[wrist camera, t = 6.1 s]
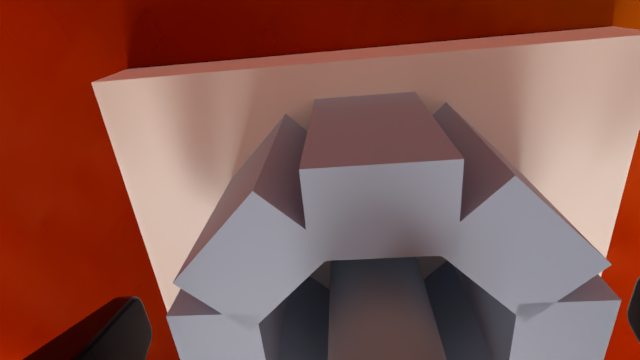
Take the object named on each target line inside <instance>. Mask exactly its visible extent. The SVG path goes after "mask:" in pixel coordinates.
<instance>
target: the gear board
mask: <svg viewBox="0 0 640 360" xmlns="http://www.w3.org/2000/svg"><path fill="white" fill-rule="evenodd" d="M91 84H92V87H93V90H94V93H95V96H96V99H97V102H98V105H99V108H100V111H101V114H102V117H103V120H104V123H105V126H106V129H107V132H108V135H109V138H110V141H111V144H112V147H113V150H114V153H115V156H116V159H117V162H118V165H119V168H120V171H121V174H122V177H123V180H124V183H125V186H126V189H127V192H128V195H129V198H130V201H131V204H132V207H133V210H134V213H135V216H136V219H137V222H138V225H139V228H140V231H141V234H142V237H143V240H144V243H145V246H146V249H147V252H148V255H149V258H150V261H151V264H152V268H153V271H154V274H155V277H156V280H157V283H158V286H159V289H160V292H161V295H162V298H163V301H164V304H165V307H166V310H167V313H168V312H169V310H170V308H171V306H172V304H173V302H174V300H175V298H176V296H177V295H178V293H179V291H180V289H181V288H179V287H178V286H176V285H174V284H173V281H174V280H175V278H176V276H177V274H178V273H179V271H180V269H181V267H182V265H183V264H184V262H185V260H186V258H187V257H188V255H189V253H190V251H191V250H192V248H193V246H194V244H195V242H196V241H197V239H198V237H199V235H200V234H201V232H202V230H203V228H204V227H205V225H206V223H207V221H208V220H209V218H210V216H211V214H212V212H213V211H214V209H215V207H216V205H217V204H218V202H219V200H220V198H221V197H222V195H223V193H224V191H225V189H226V188H227V186H228V184H229V182H230V181H231V179H232V178H233V177H234V176H235V174H236V173H237V172H238V171H239V169H240V168H241V167H242V166H243V165H244V163H245V162H246V161H247V160H248V159H249V157H250V156H251V155H252V154H253V153H254V151H255V150H256V149H257V148H258V147H259V145H260V144H261V143H262V142H263V141H264V139H265V138H266V137H267V136H268V134H269V133H270V132H271V131H272V130H273V128H274V127H275V126H276V125H277V124H278V122H279V121H280V120H281V119H282V118H283V116H284V115H285V114H286V115H288V116H289V117H290V118H291V119H292V120H294V121H295V122H296V123H297V124H299V125H300V126H301V127H302V128H304V129H305V130H306V131H308V126H309V122H310V117H311V113H312V108H313V104H314V99H323V98H337V97H350V96H363V95H376V94H389V93H402V92H415V93H416V94H417V95H418V97H419V98H420V100H421V101H422V102H423V104H424V105H425V106H426V108H427V109H428V110H429V112H430V113H431V114H432V116H433V115H434V114H435V113H436V112H437V111H438V110H439V109H440V108H441V107H442V106H443V105H444V104H445V103H446V102H447V103H448V104H449V105H450V106H451V107H452V108H453V109H454V110H455V111H456V112H457V113H458V114H460V115H461V116H462V117H463V118H464V119H465V120H466V121H467V122H468V123H469V124H470V125H471V126H472V127H473V128H475V129H476V130H477V131H478V132H479V133H480V134H481V135H482V136H483V137H484V138H485V139H486V140H487V141H488V142H489V143H491V144H492V145H493V146H494V147H495V148H496V149H497V150H498V151H499V152H500V153H501V154H502V155H503V156H504V157H506V158H507V159H508V160H509V161H510V162H511V163H512V164H513V165H514V166H515V167H516V168H517V169H518V170H519V171H520V172H521V173H522V174H523V175H524V176H525V177H526V178H527V179H528V180H529V181H530V182H531V183H532V184H533V185H534V186H535V187H536V188H537V189H538V190H539V191H540V192H541V193H542V194H543V195H544V196H545V197H546V198H547V199H548V201H549V202H550V203H551V204H552V205H553V206H554V207H555V208H556V209H557V210H558V211H559V212H560V213H561V214H562V215H563V216H564V217H565V218H566V219H567V220H568V221H569V222H570V223H571V224H572V225H573V226H574V227H575V228H576V229H577V230H578V231H579V232H580V233H581V234H582V235H583V236H584V237H585V238H586V239H587V240H588V241H589V242H590V243H591V244H592V245H593V246H594V247H595V248H596V249H597V250H598V251H599V252H600V253H601V254H602V255H603V256H604V257H605V258H606V256H607V252H608V248H609V244H610V241H611V237H612V233H613V229H614V225H615V221H616V218H617V214H618V210H619V206H620V202H621V198H622V194H623V191H624V187H625V183H626V179H627V175H628V171H629V168H630V164H631V160H632V156H633V152H634V148H635V145H636V141H637V137H638V133H639V129H640V30H638V29H631V28H623V27H616V26H610V27H599V28H587V29H576V30H565V31H553V32H542V33H531V34H519V35H508V36H497V37H485V38H474V39H463V40H452V41H440V42H429V43H418V44H406V45H395V46H384V47H372V48H361V49H350V50H338V51H327V52H316V53H304V54H293V55H282V56H270V57H259V58H248V59H236V60H225V61H214V62H203V63H191V64H180V65H169V66H157V67H146V68H135V69H126V70H123V71H120V72H118V73H115V74H112V75H110V76H107V77H105V78H102V79H99V80H97V81H94V82H91ZM446 261H447V260H446V259H445V258H444V257H442V256H422V257H400V258H378V259H356V260H334V261H325V262H324V263H323V264H322V265H320V266H319V267H318V268H317V269H316V270H315V271H314V272H313V273H312V274H311V275H310V276H311V277H312V278H313V279H315V280H316V281H318V282H319V283H321V284H322V285H324V286H325V287H326V288H328V289H329V290H330V302H329V334H328V360H447V359H446V355H445V352H444V349H443V345H442V342H441V338H440V335H439V331H438V328H437V324H436V321H435V318H434V314H433V311H432V307H431V304H430V300H429V297H428V293H427V290H426V287H425V283H424V280H423V279H425V278H426V277H427V276H428V275H430V274H431V273H432V272H433V271H435V270H436V269H437V268H438V267H440V266H441V265H442V264H443V263H445V262H446ZM598 275H599V276H600V277H601V275H602V272H600V273H599V274H598Z"/></svg>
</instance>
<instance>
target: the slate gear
mask: <svg viewBox="0 0 640 360" xmlns="http://www.w3.org/2000/svg"><path fill="white" fill-rule="evenodd" d="M422 256H442V257H444V258H445V259H446V260H447V261H446V262H445V263H443V264H442V265H441V266H440V267H438V268H437V269H436V270H435V271H433V272H432V273H431V274H430V275H428V276H427V277H426V278H425V279H423V280H424V283H425V287H426V290H427V293H428V297H429V300H430V304H431V307H432V311H433V314H434V318H435V321H436V324H437V328H438V331H439V335H440V338H441V342H442V345H443V349H444V352H445V355H446V359H447V360H604V357H605V353H606V350H607V347H608V343H609V340H610V337H611V333H612V330H613V327H614V323H615V320H616V317H617V313H618V310H619V307H620V303H621V299H620V298H619V297H618V296H617V295H616V293H615V292H614V291H613V290H612V289H611V288H610V287H609V286H608V285H607V284H606V282H605V281H604V280H603V279H602V278H601V277H600V276H599V275H598V274H599V273H600V272H602V271H603V270H605V269H606V268H608V267H609V266H611V265H612V264H611V263H610V262H609V261H608V260H607V259H606V258H605V257H604V256H603V255H602V254H601V253H600V252H599V251H598V250H597V249H596V248H595V247H594V246H593V245H592V244H591V243H590V242H589V241H588V240H587V239H586V238H585V237H584V236H583V235H582V234H581V233H580V232H579V231H578V230H577V229H576V228H575V227H574V226H573V225H572V224H571V223H570V222H569V221H568V220H567V219H566V218H565V217H564V216H563V215H562V214H561V213H560V212H559V211H558V210H557V209H556V208H555V207H554V206H553V205H552V204H551V203H550V202H549V201H548V199H547V198H546V197H545V196H544V195H543V194H542V193H541V192H540V191H539V190H538V189H537V188H536V187H535V186H534V185H533V184H532V183H531V182H530V181H529V180H528V179H527V178H526V177H525V176H524V175H523V174H522V173H521V172H520V171H519V170H518V169H517V168H516V167H515V166H514V165H513V164H512V163H511V162H510V161H509V160H508V159H507V158H506V157H504V156H503V155H502V154H501V153H500V152H499V151H498V150H497V149H496V148H495V147H494V146H493V145H492V144H491V143H489V142H488V141H487V140H486V139H485V138H484V137H483V136H482V135H481V134H480V133H479V132H478V131H477V130H476V129H475V128H473V127H472V126H471V125H470V124H469V123H468V122H467V121H466V120H465V119H464V118H463V117H462V116H461V115H460V114H458V113H457V112H456V111H455V110H454V109H453V108H452V107H451V106H450V105H449V104H448V103H447V102H446V103H445V104H444V105H443V106H442V107H441V108H440V109H439V110H438V111H437V112H436V113H435V114H434V115H433V116H432V114H431V113H430V112H429V110H428V109H427V108H426V106H425V105H424V104H423V102H422V101H421V100H420V98H419V97H418V95H417V94H416V93H415V92H402V93H389V94H376V95H363V96H350V97H337V98H323V99H314V104H313V108H312V113H311V117H310V122H309V126H308V131H306V130H305V129H304V128H302V127H301V126H300V125H299V124H297V123H296V122H295V121H294V120H292V119H291V118H290V117H289V116H288V115H286V114H285V115H284V116H283V118H282V119H281V120H280V121H279V122H278V124H277V125H276V126H275V127H274V128H273V130H272V131H271V132H270V133H269V134H268V136H267V137H266V138H265V139H264V141H263V142H262V143H261V144H260V145H259V147H258V148H257V149H256V150H255V151H254V153H253V154H252V155H251V156H250V157H249V159H248V160H247V161H246V162H245V163H244V165H243V166H242V167H241V168H240V169H239V171H238V172H237V173H236V174H235V176H234V177H233V178H232V179H231V181H230V182H229V184H228V186H227V188H226V189H225V191H224V193H223V195H222V197H221V198H220V200H219V202H218V204H217V205H216V207H215V209H214V211H213V212H212V214H211V216H210V218H209V220H208V221H207V223H206V225H205V227H204V228H203V230H202V232H201V234H200V235H199V237H198V239H197V241H196V242H195V244H194V246H193V248H192V250H191V251H190V253H189V255H188V257H187V258H186V260H185V262H184V264H183V265H182V267H181V269H180V271H179V273H178V274H177V276H176V278H175V280H174V281H173V284H174V285H176V286H178V287H179V288H181V289H180V291H179V293H178V295H177V296H176V298H175V300H174V302H173V304H172V306H171V308H170V310H169V312H168V313H167V315H166V318H167V321H168V324H169V327H170V330H171V333H172V336H173V339H174V342H175V345H176V348H177V351H178V354H179V357H180V360H328V334H329V302H330V290H329V289H328V288H326V287H325V286H324V285H322V284H321V283H319V282H318V281H316V280H315V279H313V278H312V277H311V276H310V275H311V274H312V273H313V272H314V271H315V270H316V269H317V268H318V267H319V266H320V265H322V264H323V263H324V262H325V261H334V260H356V259H378V258H400V257H422Z"/></svg>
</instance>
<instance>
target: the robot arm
mask: <svg viewBox="0 0 640 360" xmlns="http://www.w3.org/2000/svg"><path fill="white" fill-rule="evenodd" d="M627 318H628V322H629V324H630V327H631V329H632V330H633V332H634V334H635V336H636V338H637V339H638V341H639V343H640V277H639V278H638V279H637V281H636V284H635V287H634V290H633V293H632V297H631V300H630V303H629V306H628V310H627ZM151 339H152V328H151V325H150V322H149V319H148V317H147V314H146V311H145V308H144V305H143V303H142V301H141V299H140V298H138V297H135V296H131V297H117V298H115V299H113V300H112V301H110V302H109V303H107V304H106V305H104V306H103V307H101V308H100V309H98V310H97V311H95V312H94V313H92V314H90V315H89V316H87V317H86V318H84V319H83V320H81V321H80V322H78V323H77V324H75V325H74V326H72V327H71V328H69V329H68V330H66V331H65V332H63V333H62V334H60V335H59V336H57V337H56V338H54V339H53V340H51V341H50V342H48V343H47V344H45V345H44V346H42V347H41V348H39V349H38V350H36V351H35V352H33V353H32V354H30V355H29V356H27V357H26V358H24V359H23V360H146V356H147V353H148V350H149V347H150V343H151Z"/></svg>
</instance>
